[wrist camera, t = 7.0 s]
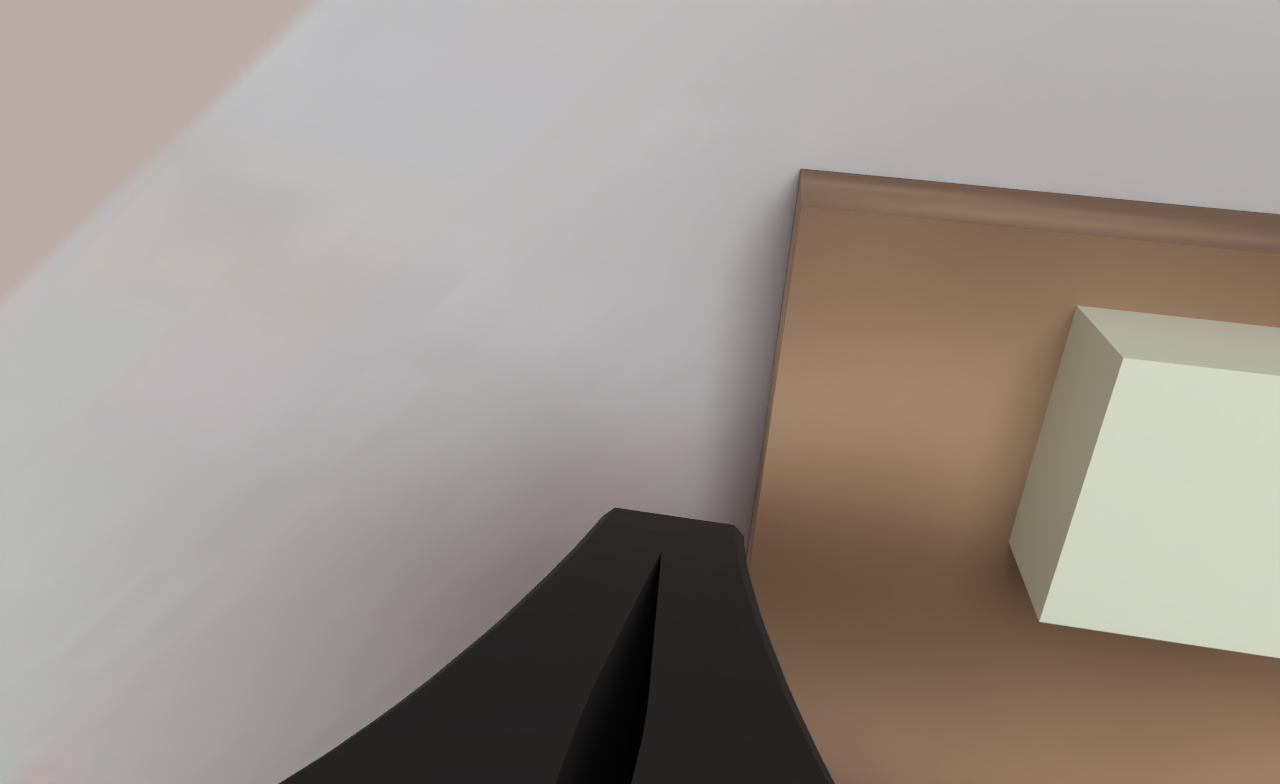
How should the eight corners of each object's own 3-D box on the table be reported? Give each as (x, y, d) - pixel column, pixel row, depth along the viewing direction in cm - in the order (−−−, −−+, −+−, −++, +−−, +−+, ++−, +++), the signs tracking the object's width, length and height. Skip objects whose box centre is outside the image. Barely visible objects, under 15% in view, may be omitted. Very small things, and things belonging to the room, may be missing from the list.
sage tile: (1276, 580, 14) (1347, 668, 12) (1008, 542, 14) (1039, 621, 12) (1384, 338, 12) (1487, 399, 10) (1076, 304, 12) (1123, 358, 11)
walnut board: (1271, 826, 19) (1348, 961, 17) (722, 730, 21) (710, 841, 18) (1574, 242, 14) (1763, 302, 11) (800, 168, 15) (801, 206, 13)
